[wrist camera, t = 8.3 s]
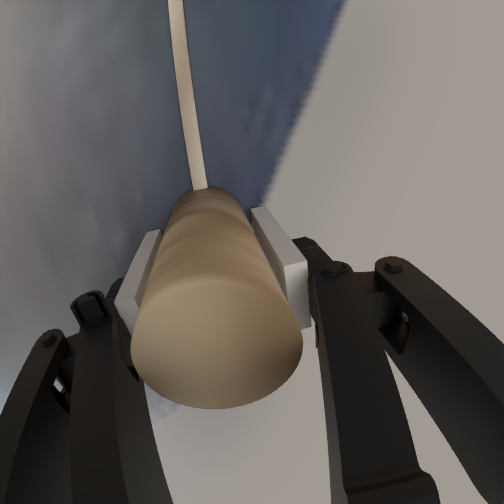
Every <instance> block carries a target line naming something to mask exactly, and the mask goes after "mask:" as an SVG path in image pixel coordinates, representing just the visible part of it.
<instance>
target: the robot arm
mask: <svg viewBox="0 0 504 504" xmlns="http://www.w3.org/2000/svg"><path fill="white" fill-rule="evenodd" d="M250 210H251V215H252V221H253V227H254V233H255V236H256V238H257V240H258V242H259V244H260V246H261V248H262V250H263V252H264V254H265V256H266V258H267V261H268V263H269V265H270V267H271V269H272V271H273V273H274V275H275V277H276V279H277V281H278V283H279V285H280V287H281V290H282V292H283V294H284V296H285V298H286V300H287V302H288V304H289V306H290V308H291V310H292V312H293V315H294V317H295V319H296V321H297V323H298V325H299V327H300V330H301V329H305V328H308V327H311V316H312V318H313V320H314V322H315V332H316V348H318V356H319V363H320V372H321V379H322V389H323V398H324V408H325V418H326V429H327V440H328V455H329V469H330V487H331V504H440V499H439V494H438V490H437V487H436V484H435V481H434V480H433V478H432V477H431V475H430V474H428V473H426V472H424V471H422V470H421V468H420V467H419V463H418V460H417V456H416V452H415V448H414V444H413V440H412V436H411V432H410V428H409V425H408V421H407V418H406V414H405V411H404V408H403V404H402V401H401V398H400V394H399V391H398V388H397V385H396V382H395V379H394V376H393V373H392V370H391V367H390V364H389V361H388V359H387V355H386V353H385V351H386V352H387V354H388V355H389V356H390V358H391V359H392V360H393V362H394V363H395V365H396V366H397V368H398V369H399V370H400V372H401V373H402V374H403V376H404V377H405V379H406V380H407V382H408V383H409V385H410V386H411V387H412V389H413V390H414V392H415V393H416V395H417V396H418V398H419V399H420V400H421V402H422V403H423V405H424V406H425V408H426V409H427V411H428V412H429V414H430V415H431V417H432V418H433V420H434V421H435V423H436V425H437V426H438V428H439V429H440V431H441V432H442V434H443V435H444V437H445V438H446V440H447V442H448V443H449V445H450V446H451V448H452V450H453V451H454V453H455V454H456V456H457V457H458V459H459V461H460V462H461V464H462V466H463V467H464V469H465V471H466V472H467V474H468V476H469V478H470V479H471V481H472V483H473V484H474V486H475V487H476V489H477V490H478V492H479V493H480V495H481V496H482V497H483V498H484V499H485V500H486V501H487V503H488V504H504V344H503V343H502V342H501V341H500V340H499V339H498V338H497V337H496V336H495V335H494V334H493V333H492V332H491V331H490V330H489V329H488V328H486V327H485V326H484V325H483V324H482V323H481V322H480V321H479V320H478V319H477V318H475V316H473V315H472V314H471V313H470V312H469V311H468V310H467V309H465V308H464V307H463V306H462V305H461V304H460V303H459V302H458V301H456V300H455V299H454V298H453V297H452V296H451V295H449V294H448V293H447V292H446V291H445V290H443V289H442V288H441V287H440V286H439V285H437V284H436V283H435V282H434V281H433V280H431V279H430V278H429V277H428V276H426V275H425V274H424V273H423V272H421V271H420V270H419V269H418V268H416V267H415V266H414V265H412V264H411V263H410V262H408V261H407V260H405V259H403V258H399V257H395V256H389V257H384V258H381V259H379V260H378V261H377V262H376V263H375V271H371V272H353V270H352V268H351V267H350V266H349V265H348V264H346V263H344V262H340V261H333V260H332V259H331V258H330V257H329V256H328V255H327V254H326V253H325V252H324V251H323V250H322V248H321V247H320V246H318V244H317V243H316V242H315V241H314V240H312V239H309V238H307V237H302V238H297V239H292V240H291V239H290V238H289V236H288V235H287V234H286V233H285V231H284V230H283V229H282V227H281V226H280V225H279V224H278V222H277V221H276V220H275V218H274V217H273V216H272V215H271V213H270V212H269V211H268V210H267V208H266V207H265V206H262V207H257V208H252V209H250ZM161 240H162V233H161V230H160V229H158V230H154V231H149V232H147V233H146V235H145V237H144V239H143V241H142V243H141V245H140V247H139V249H138V251H137V253H136V255H135V257H134V259H133V261H132V263H131V265H130V267H129V270H128V272H127V274H126V276H125V277H123V278H119V279H118V280H116V281H115V282H114V283H113V284H112V285H111V287H110V290H109V292H108V294H107V296H106V299H105V297H104V295H103V293H102V292H101V291H90V292H87V293H85V294H82V295H81V296H79V297H78V298H76V299H75V300H74V301H73V302H72V304H71V306H70V308H71V310H72V312H73V314H74V316H75V317H76V319H77V321H78V323H79V325H80V331H79V333H78V334H75V335H72V336H70V337H67V338H66V337H65V335H64V334H63V332H62V331H61V330H60V329H53V330H48V331H47V332H45V333H43V335H42V336H40V337H39V339H38V340H37V341H36V343H35V345H34V347H33V348H32V350H31V352H30V354H29V356H28V358H27V360H26V361H25V363H24V365H23V367H22V369H21V371H20V373H19V375H18V377H17V379H16V381H15V383H14V385H13V388H12V390H11V392H10V394H9V396H8V399H7V401H6V403H5V405H4V408H3V410H2V413H1V415H0V504H173V501H172V498H171V495H170V492H169V489H168V486H167V482H166V479H165V476H164V472H163V468H162V465H161V461H160V457H159V454H158V450H157V446H156V442H155V438H154V434H153V429H152V424H151V420H150V415H149V410H148V405H147V399H146V394H145V388H144V382H143V380H142V378H141V377H140V375H139V374H138V372H137V371H136V369H135V367H134V364H133V361H132V357H131V349H130V347H131V339H132V335H133V331H134V327H135V324H136V320H137V316H138V313H139V309H140V306H141V302H142V299H143V295H144V292H145V289H146V285H147V282H148V279H149V276H150V273H151V270H152V266H153V263H154V260H155V257H156V254H157V251H158V249H159V246H160V243H161ZM405 314H406V315H405ZM406 316H407V317H408V318H407V317H406ZM384 349H385V350H384ZM55 379H57V380H58V382H59V383H60V384H61V386H62V387H63V388H62V391H61V392H59V391H58V390H57V389H56V387H55V386H54V385H53V384H54V382H55Z"/></svg>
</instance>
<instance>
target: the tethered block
mask: <svg viewBox="0 0 504 504" xmlns="http://www.w3.org/2000/svg"><path fill="white" fill-rule="evenodd" d="M168 5H169V16H170V27H171V37H172V47H173V56H174V64H175V72H176V80H177V88H178V96H179V103H180V110H181V117H182V123H183V130H184V137H185V143H186V149H187V155H188V161H189V167H190V173H191V179H192V184H193V189H192V190H190V191H188V192H186V193H185V194H184V195H182V196H181V197H180V198H179V199H178V201H177V202H176V204H175V205H174V207H173V210H172V212H171V215H170V218H169V220H168V223H167V226H166V229H165V231H164V234H163V237H162V240H161V243H160V246H159V249H158V251H157V254H156V257H155V260H154V263H153V266H152V270H151V273H150V276H149V279H148V282H147V285H146V289H145V292H144V295H143V299H142V302H141V306H140V309H139V313H138V316H137V320H136V324H135V327H134V331H133V335H132V339H131V347H130V349H131V357H132V361H133V364H134V367H135V369H136V371H137V372H138V374H139V375H140V377H141V378H142V380H143V381H144V382H145V383H146V384H147V385H148V386H149V387H150V388H151V389H153V390H154V391H155V392H157V393H158V394H160V395H161V396H163V397H165V398H167V399H169V400H171V401H174V402H176V403H179V404H182V405H185V406H190V407H196V408H203V409H225V408H233V407H238V406H242V405H245V404H249V403H252V402H255V401H257V400H259V399H261V398H264V397H266V396H267V395H269V394H271V393H272V392H274V391H275V390H277V389H278V388H279V387H280V386H282V385H283V384H284V383H285V382H286V381H287V380H288V379H289V378H290V376H291V375H292V374H293V372H294V371H295V369H296V368H297V366H298V364H299V361H300V359H301V355H302V350H303V349H302V348H303V339H302V333H301V330H300V327H299V325H298V323H297V321H296V319H295V317H294V315H293V312H292V310H291V308H290V306H289V304H288V302H287V300H286V298H285V296H284V294H283V292H282V290H281V287H280V285H279V283H278V281H277V279H276V277H275V275H274V273H273V271H272V269H271V267H270V265H269V263H268V261H267V258H266V256H265V254H264V252H263V250H262V248H261V246H260V244H259V242H258V240H257V238H256V236H255V234H254V232H253V230H252V228H251V226H250V224H249V222H248V220H247V217H246V215H245V213H244V211H243V209H242V207H241V205H240V203H239V202H238V201H237V199H236V198H235V197H234V196H233V195H232V194H230V193H229V192H227V191H226V190H224V189H221V188H218V187H214V186H207V180H206V174H205V167H204V161H203V155H202V149H201V142H200V136H199V129H198V122H197V115H196V108H195V101H194V94H193V86H192V79H191V71H190V63H189V55H188V47H187V38H186V29H185V20H184V10H183V0H168Z"/></svg>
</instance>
